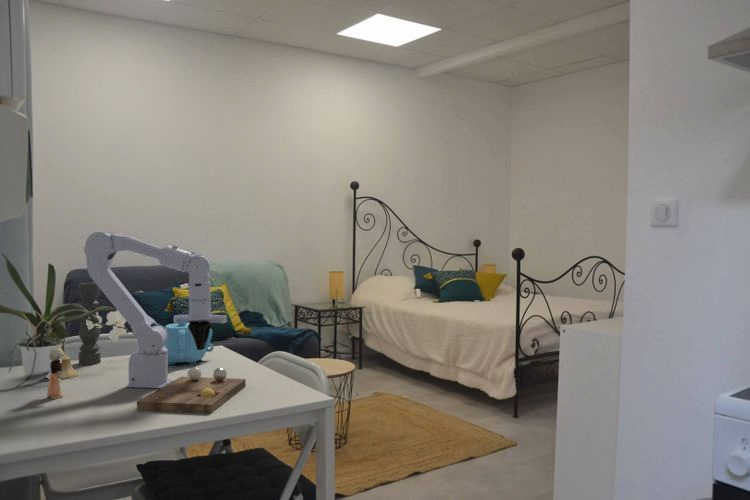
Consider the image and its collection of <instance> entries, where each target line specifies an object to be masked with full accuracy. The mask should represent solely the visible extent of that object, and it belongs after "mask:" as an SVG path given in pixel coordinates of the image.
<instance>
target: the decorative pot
mask: <svg viewBox="0 0 750 500" xmlns="http://www.w3.org/2000/svg"><path fill="white" fill-rule="evenodd" d="M189 324H190V323H180V322H178V323H168V324H166V325H165V327H164V328H165V329H166V330H167V332H168V340H167V342H166V343H165V344H164V345H165V347H166V348H167V349H168V351H167V352H168V366H173V365H176V363H188V364H189V365H194V364H197V363H198V361H199V360H200V361H201V360H202V359H203V357H204V356H206V353H211V352H213V350H214V348H215V347H214V344H213V343H211V340H212V336H213V330H212V328H211V329H210V331H209V333H208V336H207V339H206V344H205V349H202V350H197V347H196V343H195V340H194V338H193V335H192V333H191V332H190V330H189V329H188V325H189ZM209 347H211V348H209Z"/></svg>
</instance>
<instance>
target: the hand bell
mask: <svg viewBox="0 0 750 500" xmlns="http://www.w3.org/2000/svg"><path fill="white" fill-rule="evenodd" d="M65 329H66V330H67V328H66V327H65ZM65 340H66V338H65V339H64V341H63V346H62V350H63V352H64V355H63V356H62V363H61V367H62V374H61V375H62V378H61V380H62V381H63V380H68V379H72V378H76V377H77V376H78V375H79V374H78V373H77V371H75V370H74V368H73V365H72V362H71V357H70V356H68V355H67V354H66V353H65V351H66V350H65Z"/></svg>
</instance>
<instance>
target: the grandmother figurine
mask: <svg viewBox="0 0 750 500" xmlns="http://www.w3.org/2000/svg"><path fill="white" fill-rule="evenodd" d="M63 355H64V352H63V350H62V349H61V348H59V347H58V346H52V347H50V348H49V360H51V362H50V367H49V368H50V369H51V374H50V379H48V384H47V390H46V391H47V393H46V395H47V397H49V398H50V399H51V400H57V399H62V398H64V396H63V394H62V389H61V385H60V384H61V378H62V375H61V374H62V367H61V363H60V360H59V359H60V358H61V356H63Z"/></svg>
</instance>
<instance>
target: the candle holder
mask: <svg viewBox="0 0 750 500" xmlns="http://www.w3.org/2000/svg"><path fill="white" fill-rule="evenodd" d="M78 285H79V286H78V288H79V293H78V294H79V295H80V298H81V299H82V301H81V302H80V303H79V305H80V306H81V307H82V306H83V307H84V308H85V309H87V310H88V311H92V310H95V309H96V310H97V307H98V305H99V304H100V303H99V301H98V300H97V299H98V297H99V296H100V295H99V294H100V291H101V289H100V288H99V287H98V285H97V284H96V283H95V282H80V283H78ZM83 307H82V308H83ZM94 315H95V316H96V317H97V312H96V313H94ZM88 318H89V317H83V316H82V318H81V322H80V326H79V330H78V337H79V339H80V340H81V343H82V344H80V347H79V351H80V352H78V365H80V366H94V365H98V364H100V363H101V362H102V361H101V360H102V359H101V358H102V354H101V353H102V352H101V351H100V348H101V347H100V345H99V344H98V343H97V342H98V339H99V338H100V336H101V329H100V325H99V326H94V328H92V329H90V330H88V328H87V325H86V319H88ZM97 323H98V324H99V321H98V322H97ZM96 327H99V328H96Z"/></svg>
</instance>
